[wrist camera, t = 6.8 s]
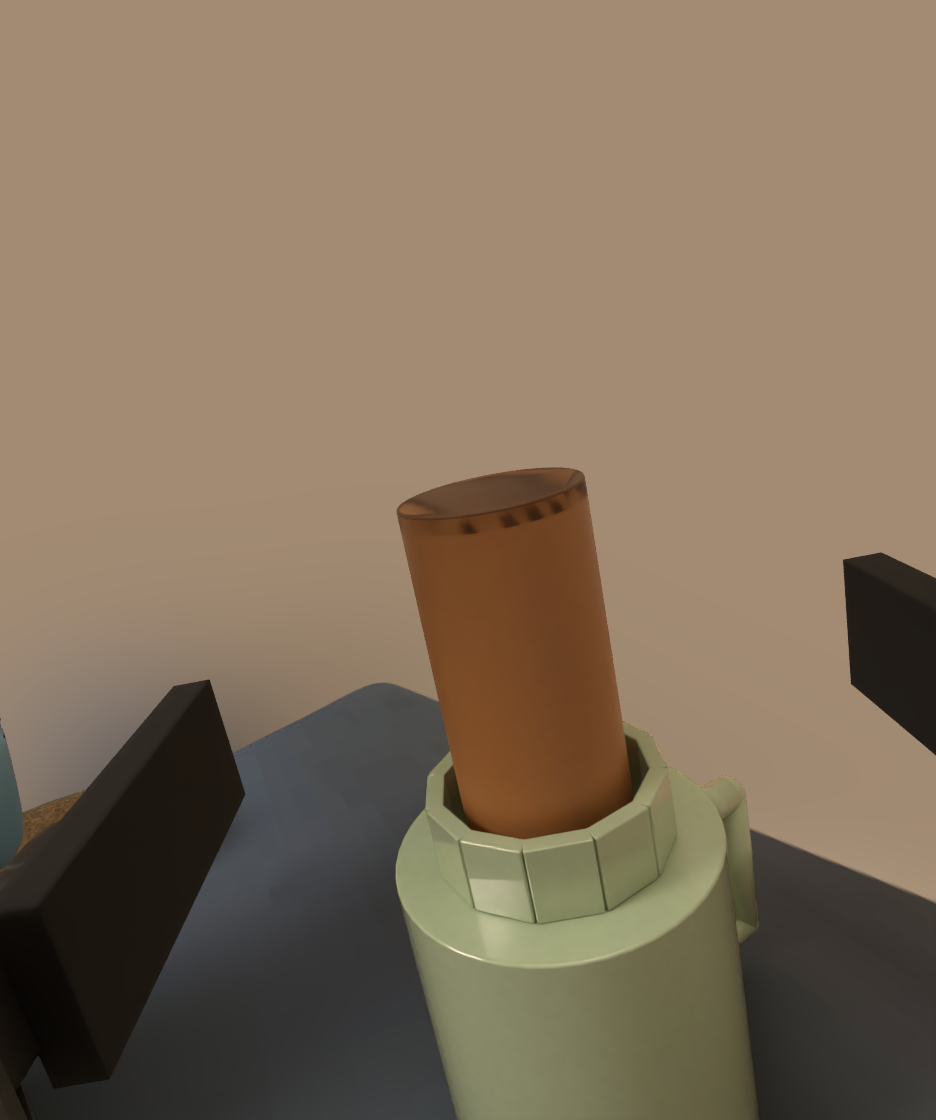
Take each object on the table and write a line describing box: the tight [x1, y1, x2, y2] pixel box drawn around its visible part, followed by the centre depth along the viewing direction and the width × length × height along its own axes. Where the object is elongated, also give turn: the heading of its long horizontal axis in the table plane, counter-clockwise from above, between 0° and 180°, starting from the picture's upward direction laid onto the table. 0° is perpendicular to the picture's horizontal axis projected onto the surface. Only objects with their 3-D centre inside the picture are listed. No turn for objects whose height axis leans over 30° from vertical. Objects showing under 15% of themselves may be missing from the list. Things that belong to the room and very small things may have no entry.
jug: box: [395, 721, 759, 1120], centre depth 27 cm, size 11×14×14 cm
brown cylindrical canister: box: [397, 468, 634, 839], centre depth 24 cm, size 6×6×12 cm
